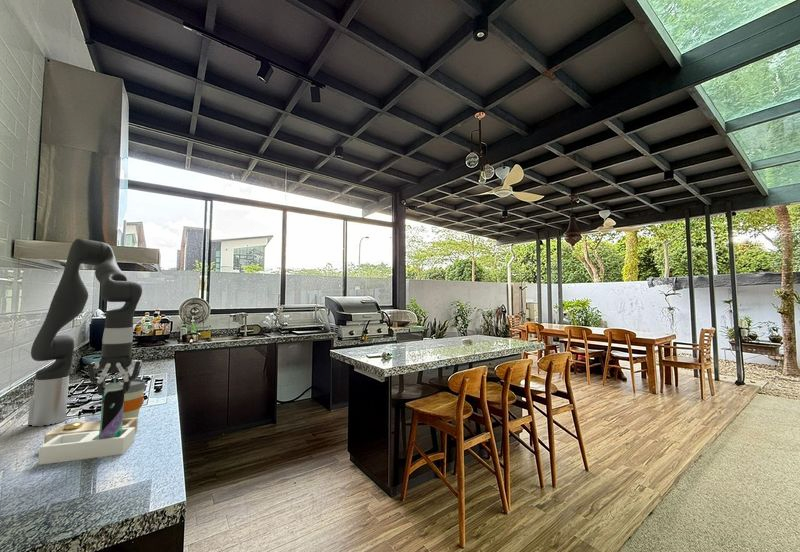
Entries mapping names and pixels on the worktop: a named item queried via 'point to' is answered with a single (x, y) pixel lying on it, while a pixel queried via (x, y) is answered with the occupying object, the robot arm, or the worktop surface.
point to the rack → (84, 446)
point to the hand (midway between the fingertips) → (113, 393)
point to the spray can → (111, 410)
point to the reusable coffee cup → (133, 398)
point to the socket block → (88, 428)
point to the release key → (73, 426)
